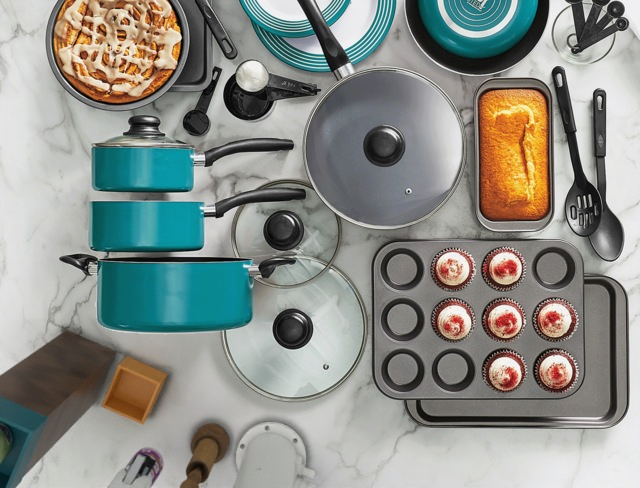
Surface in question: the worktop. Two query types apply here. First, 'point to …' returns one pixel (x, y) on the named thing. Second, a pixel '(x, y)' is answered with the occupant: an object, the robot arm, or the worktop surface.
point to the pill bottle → (157, 467)
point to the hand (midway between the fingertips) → (139, 475)
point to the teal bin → (19, 440)
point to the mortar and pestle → (205, 453)
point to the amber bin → (134, 390)
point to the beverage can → (5, 441)
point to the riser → (58, 384)
